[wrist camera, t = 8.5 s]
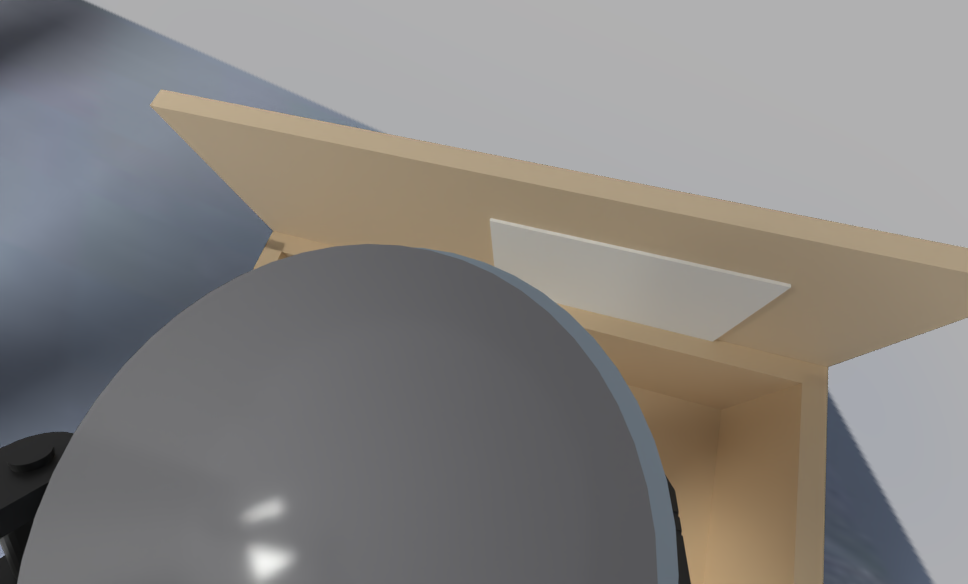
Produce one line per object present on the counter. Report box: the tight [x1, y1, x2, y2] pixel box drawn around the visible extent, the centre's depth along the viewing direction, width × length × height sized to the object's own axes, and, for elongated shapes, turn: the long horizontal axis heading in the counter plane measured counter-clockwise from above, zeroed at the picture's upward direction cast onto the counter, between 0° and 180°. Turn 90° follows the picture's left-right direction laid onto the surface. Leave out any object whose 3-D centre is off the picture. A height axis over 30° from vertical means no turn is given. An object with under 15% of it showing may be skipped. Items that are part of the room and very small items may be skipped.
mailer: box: [150, 90, 968, 584], centre depth 15 cm, size 22×14×14 cm, turn 74°
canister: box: [17, 244, 679, 584], centre depth 10 cm, size 6×6×13 cm
